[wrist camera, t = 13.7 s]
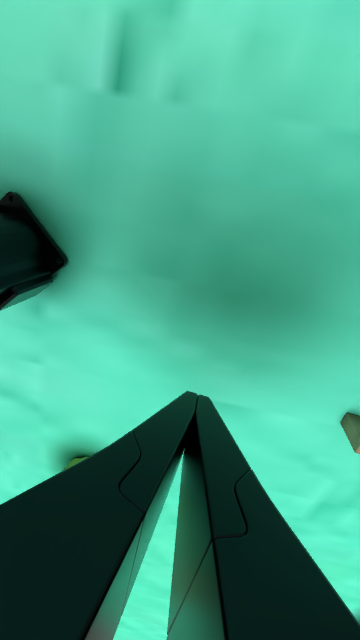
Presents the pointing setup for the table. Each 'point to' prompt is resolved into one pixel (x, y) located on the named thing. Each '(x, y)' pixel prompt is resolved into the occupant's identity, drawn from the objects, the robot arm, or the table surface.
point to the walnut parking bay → (352, 430)
